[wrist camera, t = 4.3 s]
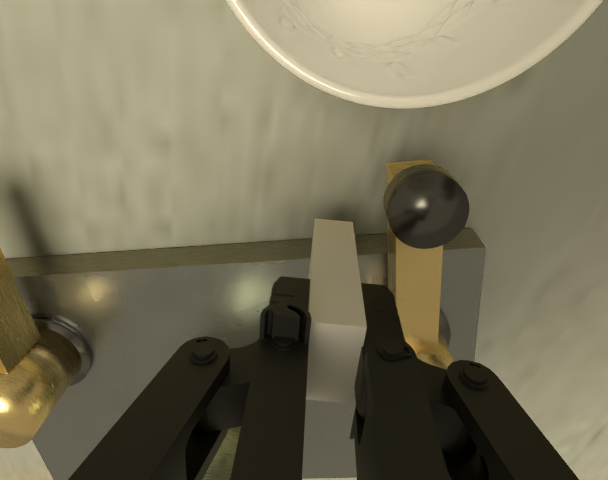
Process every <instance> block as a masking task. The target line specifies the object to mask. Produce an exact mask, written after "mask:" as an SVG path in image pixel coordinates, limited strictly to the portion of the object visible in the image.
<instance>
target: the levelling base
mask: <svg viewBox="0 0 608 480" xmlns="http://www.w3.org/2000/svg"><path fill="white" fill-rule="evenodd" d="M312 240H313V238H312V239H297V240H282V241H267V242H252V243H237V244H222V245H207V246H192V247H177V248H162V249H147V250H132V251H117V252H102V253H87V254H72V255H57V256H42V257H27V258H12V259H5V260H6V262H7V264H8V266H9V268H10V271H11V273H12V275H13V277H14V279H15V282H16V284H17V286H18V288H19V290H20V293H21V295H22V297H23V299H24V301H25V303H26V306H27V308H28V310H29V312H30V314H31V317H32V319H33V321H34V323H35V325H36V327H41V328H47V329H50V330H53V331H55V332H58V333H60V334H62V335H63V336H65V337H66V338H67V339H69V340H70V341H71V342H72V343H73V344H74V345H75V347H76V348H77V350H78V351H79V353H80V356H81V360H82V365H81V369H80V371H79V373H78V374H77V376H76V377H75V378H74V380H73V381H72V383H71V384H70V385H69V387H68V388H67V390H66V391H65V393H64V394H63V395H62V397H61V398H60V400H59V401H58V402H57V404H56V405H55V407H54V408H53V410H52V411H51V412H50V414H49V415H48V417H47V418H46V419H45V421H44V422H43V424H42V425H41V426H40V428H39V429H38V431H37V432H36V434H35V435H34V436H33V438H32V440H33V442H34V444H35V446H36V448H37V450H38V452H39V453H40V455H41V457H42V459H43V461H44V463H45V464H46V466H47V468H48V470H49V472H50V474H51V476H52V477H53V479H54V480H68V479H69V478H70V477H71V475H72V474H73V473H74V472H75V471H76V469H77V468H78V467H79V466H80V465H81V463H82V462H83V461H84V460H85V459H86V458H87V456H88V455H89V454H90V453H91V452H92V450H93V449H94V448H95V447H96V446H97V445H98V443H99V442H100V441H101V440H102V439H103V437H104V436H105V435H106V434H107V433H108V431H109V430H110V429H111V428H112V427H113V426H114V424H115V423H116V422H117V421H118V420H119V418H120V417H121V416H122V415H123V414H124V412H125V411H126V410H127V409H128V408H129V407H130V405H131V404H132V403H133V402H134V401H135V399H136V398H137V397H138V396H139V395H140V393H141V392H142V391H143V390H144V389H145V388H146V386H147V385H148V384H149V383H150V382H151V380H152V379H153V378H154V377H155V376H156V375H157V373H158V372H159V371H160V370H161V369H162V367H163V366H164V365H165V364H166V363H167V361H168V360H169V359H170V358H171V357H172V356H173V354H174V353H175V352H176V351H177V350H178V348H179V347H180V346H182V345H183V344H184V343H185V342H186V341H189V340H191V339H194V338H197V337H205V336H207V337H215V338H217V339H220V340H222V341H224V342H225V344H226V345H227V346H228V347H229V349H232V348H239V347H244V346H247V345H250V344H252V343H254V342H255V341H257V340H258V339H259V333H260V314H261V312H262V310H263V309H264V308H265V307H267V306H268V305H269V303H270V297H271V292H272V287H273V284H274V283H275V282H276V281H277V280H278V279H279V278H280V277H281V276H284V277H295V278H305V279H309V269H310V259H311V249H312ZM355 242H356V250H357V257H358V265H359V272H360V280H361V283H368V284H379V285H386V287H387V288H388V256H387V234H372V235H357V236H355ZM484 257H485V246H484V245H483V243H482V242H481V241H480V239H479V238H478V236H477V235H476V234H475V232H474V231H473V229H472V228H463V229H462V230H461V232H460V233H459V234H458V235H457V236H456V237H455V238H454V239H452V240H451V241H449V242H448V243H446V244H444V245H443V255H442V274H441V293H440V312H439V325H440V327H441V330H442V332H443V335H444V338H445V340H446V343H447V345H448V348H449V351H450V353H451V356H452V358H453V361H458V360H469V361H473V362H474V355H475V346H476V336H477V326H478V316H479V306H480V296H481V286H482V277H483V267H484ZM355 407H356V402H355V394H354V399H353V404H348V403H338V402H327V401H317V400H307V399H306V408H305V428H304V448H303V467H302V479H304V478H349V477H357V472H356V456H355V441H354V439H349V438H350V433H351V428H352V422H353V417H354V412H355ZM240 429H241V426H240V427H235V428H230V429H228V432H227V435H226V437H225V439H224V440H223V442H222V444H221V446H220V448H219V450H218V452H217V453H216V455H215V457H214V459H213V461H212V463H211V464H210V466H209V468H208V470H207V472H206V474H205V476H204V477H203V479H202V480H230V477H231V472H232V468H233V463H234V458H235V453H236V448H237V444H238V439H239V434H240Z"/></svg>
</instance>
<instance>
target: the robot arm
mask: <svg viewBox="0 0 608 480" xmlns="http://www.w3.org/2000/svg"><path fill="white" fill-rule="evenodd" d="M354 394H355V402H356V407H355V412H354V417H353V422H352V428H351V433H350V438H349V439H354V441H355V456H356V472H357V480H579V479H578V478H577V476H576V475H575V474H574V473H573V471H572V470H571V469H570V468H569V466H568V465H567V464H566V463H565V461H564V460H563V459H562V457H561V456H560V455H559V454H558V452H557V451H556V450H555V449H554V447H553V446H552V445H551V444H550V442H549V441H548V440H547V439H546V437H545V436H544V435H543V433H542V432H541V431H540V430H539V428H538V427H537V426H536V425H535V423H534V422H533V421H532V420H531V418H530V417H529V416H528V414H527V413H526V412H525V411H524V409H523V408H522V407H521V406H520V404H519V403H518V402H517V401H516V399H515V398H514V397H513V396H512V394H511V393H510V392H509V390H508V389H507V388H506V387H505V385H504V384H503V383H502V382H501V380H500V379H499V378H498V377H497V376H496V375H495V374H494V373H493V372H492V371H491V370H490V369H489V368H487V367H485V366H483V365H482V364H479V363H476V362H473V361H469V360H458V361H454V362H452V363H451V364H450V365H449V366H448V368H447V370H445V369H442V368H439V367H436V366H433V365H430V364H428V363H426V362H423V361H422V360H420V359H418V358H417V355H416V353H415V351H414V349H413V348H412V347H411V346H410V345H409V344H408V343H407V342H405V338H404V334H403V330H402V326H401V322H400V318H399V314H398V310H397V306H396V302H395V298H394V294H393V293H392V292H391V291H390V290H389V289H388V288H387V287H386V285H379V284H368V283H361V280H360V272H359V265H358V257H357V250H356V242H355V235H354V227H353V222H347V221H336V220H326V219H315V220H314V230H313V240H312V249H311V259H310V269H309V279H305V278H295V277H284V276H281V277H280V278H279V279H278V280H277V281H276V282H275V283H274V284H273V287H272V292H271V297H270V303H269V305H268V306H267V307H265V308H264V309H263V310H262V312H261V314H260V333H259V339H258V340H257V341H255V342H254V343H252V344H250V345H247V346H244V347H239V348H232V349H229V347H228V346H227V345H226V344H225V342H224V341H222V340H220V339H217V338H215V337H207V336H205V337H197V338H194V339H191V340H189V341H186V342H185V343H184V344H183V345H182V346H180V347H179V348H178V350H177V351H176V352H175V353H174V354H173V356H172V357H171V358H170V359H169V360H168V361H167V363H166V364H165V365H164V366H163V367H162V369H161V370H160V371H159V372H158V373H157V375H156V376H155V377H154V378H153V379H152V380H151V382H150V383H149V384H148V385H147V386H146V388H145V389H144V390H143V391H142V392H141V393H140V395H139V396H138V397H137V398H136V399H135V401H134V402H133V403H132V404H131V405H130V407H129V408H128V409H127V410H126V411H125V412H124V414H123V415H122V416H121V417H120V418H119V420H118V421H117V422H116V423H115V424H114V426H113V427H112V428H111V429H110V430H109V431H108V433H107V434H106V435H105V436H104V437H103V439H102V440H101V441H100V442H99V443H98V445H97V446H96V447H95V448H94V449H93V450H92V452H91V453H90V454H89V455H88V456H87V458H86V459H85V460H84V461H83V462H82V463H81V465H80V466H79V467H78V468H77V469H76V471H75V472H74V473H73V474H72V475H71V477H70V478H69V479H68V480H202V479H203V477H204V476H205V474H206V472H207V470H208V468H209V466H210V464H211V463H212V461H213V459H214V457H215V455H216V453H217V452H218V450H219V448H220V446H221V444H222V442H223V440H224V439H225V437H226V435H227V432H228V429H230V428H235V427H240V426H241V429H240V434H239V439H238V444H237V448H236V453H235V458H234V463H233V468H232V472H231V477H230V480H302V467H303V448H304V428H305V408H306V399H307V400H317V401H327V402H338V403H348V404H353V399H354Z"/></svg>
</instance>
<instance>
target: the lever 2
mask: <svg viewBox="0 0 608 480" xmlns="http://www.w3.org/2000/svg"><path fill="white" fill-rule="evenodd" d="M386 168H387V189H386V191H385V195H384V208H385V212H386V215H387V256H388V289H389V290H390V291H391V292H392V293H393V294H394V298H395V302H396V306H397V310H398V314H399V318H400V322H401V326H402V330H403V334H404V338H405V342H407V343H408V344H409V345H410V346H411V347H412V348H413V349H414V351H415V353H416V355H417V358H418V359H420V360H422V361H423V362H426V363H428V364H430V365H433V366H436V367H439V368H442V369H445V370H447V368H448V366H449V365H450V364H451V363H452V362H454V361H453V358H452V356H451V353H450V351H449V348H448V345H447V343H446V340H445V338H444V335H443V332H442V330H441V327H440V325H439V312H440V293H441V274H442V255H443V245H444V244H446V243H448V242H449V241H451V240H452V239H454V238H455V237H456V236H457V235H458V234H459V233H460V232H461V230H462V229H463V227H464V226H465V224H466V221H467V219H468V215H469V202H468V199H467V196H466V194H465V192H464V191H463V189H462V188H461V187H460V186H459V184H458V183H457V182H456V181H455V180H454V178H453V177H452V176H451V175H450V174H449V173H448V172H447V171H446V170H444V169H442V168H441V167H438V166H435V165H434V164H433V162H432V161H431V160H430V159H428V160H416V161H403V162H391V163H386Z"/></svg>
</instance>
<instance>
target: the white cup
mask: <svg viewBox="0 0 608 480" xmlns="http://www.w3.org/2000/svg"><path fill="white" fill-rule="evenodd" d="M226 2H227V3H228V5H229V7H230V8H231V10H232V11H233V13H234V14H235V16H236V17H237V18H238V20H239V21H240V23H241V24H242V25H243V26H244V28H245V29H246V30H247V32H248V33H249V34H250V35H251V36H252V37H253V39H254V40H255V41H256V42H257V43H258V44H259V45H260V46H261V47H262V48H263V49H264V50H265V51H266V52H267V53H268V54H269V55H270V56H271V57H272V58H273V59H274V60H276V61H277V62H278V63H279V64H280V65H282V66H283V67H284V68H285V69H287V70H288V71H289V72H291V73H292V74H294V75H295V76H297V77H298V78H300V79H301V80H303V81H304V82H306V83H308V84H310V85H311V86H313V87H315V88H317V89H319V90H321V91H323V92H326V93H328V94H330V95H333V96H335V97H338V98H341V99H344V100H347V101H350V102H354V103H358V104H362V105H367V106H373V107H381V108H393V109H412V108H425V107H432V106H439V105H444V104H448V103H453V102H456V101H460V100H463V99H467V98H470V97H473V96H475V95H478V94H481V93H483V92H486V91H488V90H490V89H492V88H495V87H497V86H499V85H501V84H503V83H505V82H507V81H509V80H510V79H512V78H514V77H516V76H518V75H519V74H521V73H522V72H524V71H526V70H527V69H529V68H530V67H532V66H533V65H535V64H536V63H538V62H539V61H540V60H542V59H543V58H544V57H546V56H547V55H548V54H550V53H551V52H552V51H553V50H555V49H556V48H557V47H558V46H559V45H561V44H562V43H563V42H564V41H565V40H566V39H567V38H569V37H570V36H571V35H572V34H573V33H574V32H575V31H576V30H577V29H578V28H579V27H580V26H581V25H582V24H583V23H584V22H585V21H586V20H587V19H588V18H589V17H590V15H591V14H592V13H593V12H594V11H595V10H596V9H597V8H598V6H599V5H600V4H601V3H602V2H603V0H226Z"/></svg>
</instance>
